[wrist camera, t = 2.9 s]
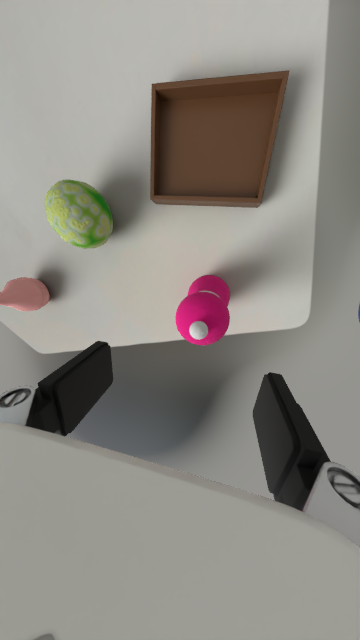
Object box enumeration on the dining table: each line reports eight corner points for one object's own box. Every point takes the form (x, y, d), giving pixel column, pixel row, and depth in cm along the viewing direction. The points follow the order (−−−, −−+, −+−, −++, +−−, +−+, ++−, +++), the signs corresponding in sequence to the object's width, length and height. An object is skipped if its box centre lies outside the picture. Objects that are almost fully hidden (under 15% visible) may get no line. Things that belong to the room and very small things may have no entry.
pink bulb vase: (24, 286, 43) (-42, 296, 32) (40, 269, 41) (-27, 274, 30) (45, 311, 45) (-12, 329, 34) (61, 296, 42) (5, 311, 31)
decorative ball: (74, 233, 36) (23, 226, 27) (86, 181, 32) (32, 151, 22) (113, 258, 36) (77, 260, 27) (131, 209, 32) (95, 190, 22)
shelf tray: (281, 91, 23) (289, 70, 20) (257, 207, 27) (261, 202, 25) (158, 100, 26) (151, 83, 23) (156, 204, 30) (150, 199, 28)
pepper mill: (227, 270, 32) (237, 289, 13) (229, 307, 34) (241, 367, 16) (189, 275, 33) (152, 299, 15) (194, 310, 36) (167, 367, 17)
